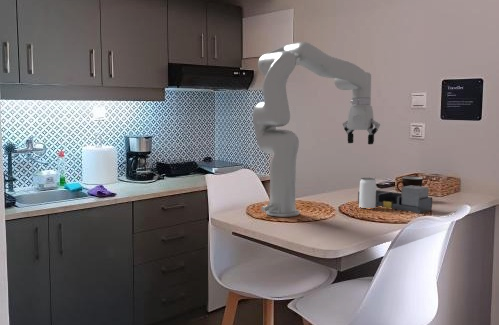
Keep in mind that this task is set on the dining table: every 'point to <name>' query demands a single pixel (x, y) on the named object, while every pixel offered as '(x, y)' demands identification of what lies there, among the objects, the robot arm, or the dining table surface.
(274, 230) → the dining table surface
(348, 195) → the dining table surface
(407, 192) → the rack
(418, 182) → the coffee mug
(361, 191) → the can
